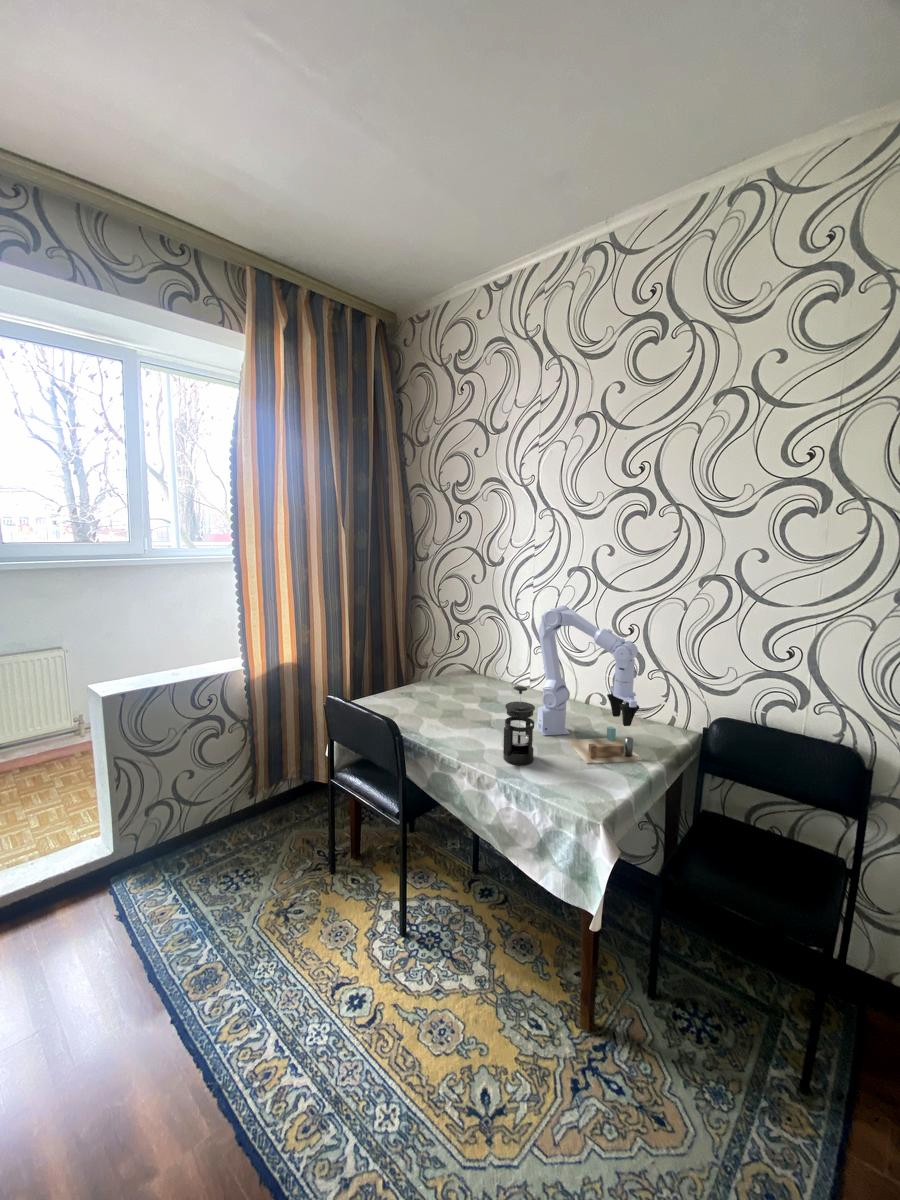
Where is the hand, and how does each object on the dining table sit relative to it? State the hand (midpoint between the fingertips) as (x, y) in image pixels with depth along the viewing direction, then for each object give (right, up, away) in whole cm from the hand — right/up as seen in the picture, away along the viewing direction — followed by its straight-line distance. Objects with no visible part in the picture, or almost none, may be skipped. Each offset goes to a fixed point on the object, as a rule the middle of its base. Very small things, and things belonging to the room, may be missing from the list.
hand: (621, 720), depth 157 cm
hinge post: (+1, -10, -3) cm, 11 cm away
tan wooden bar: (-6, -10, -5) cm, 12 cm away
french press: (-34, -11, -6) cm, 36 cm away
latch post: (-1, -9, +8) cm, 12 cm away
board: (-6, -10, +1) cm, 11 cm away
